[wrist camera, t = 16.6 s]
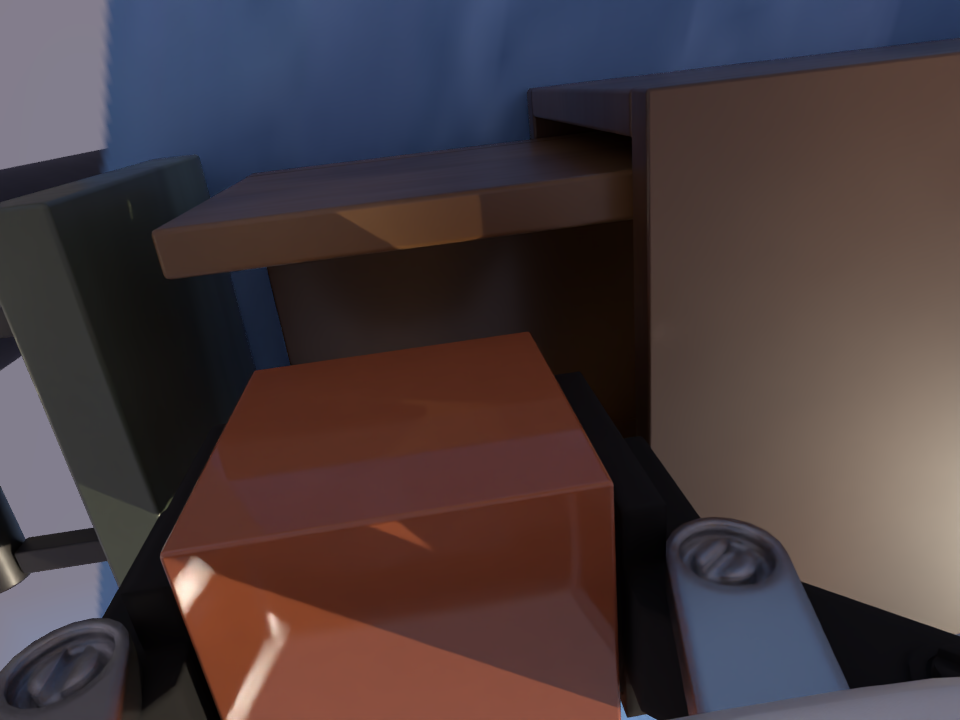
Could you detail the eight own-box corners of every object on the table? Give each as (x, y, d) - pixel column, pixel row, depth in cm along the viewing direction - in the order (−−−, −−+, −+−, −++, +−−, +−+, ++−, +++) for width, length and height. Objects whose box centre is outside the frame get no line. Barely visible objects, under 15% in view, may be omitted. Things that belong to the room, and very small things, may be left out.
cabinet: (552, 453, 22) (649, 689, 13) (525, 88, 17) (646, 88, 9) (956, 392, 23) (1294, 576, 14) (1030, 29, 18) (1588, -24, 10)
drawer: (89, 521, 20) (-81, 756, 13) (-52, 183, 16) (-410, 257, 9) (666, 433, 21) (799, 607, 14) (669, 97, 17) (856, 103, 10)
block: (311, 589, 12) (266, 847, 8) (251, 368, 10) (155, 555, 6) (548, 550, 12) (624, 779, 8) (530, 329, 11) (615, 482, 6)
